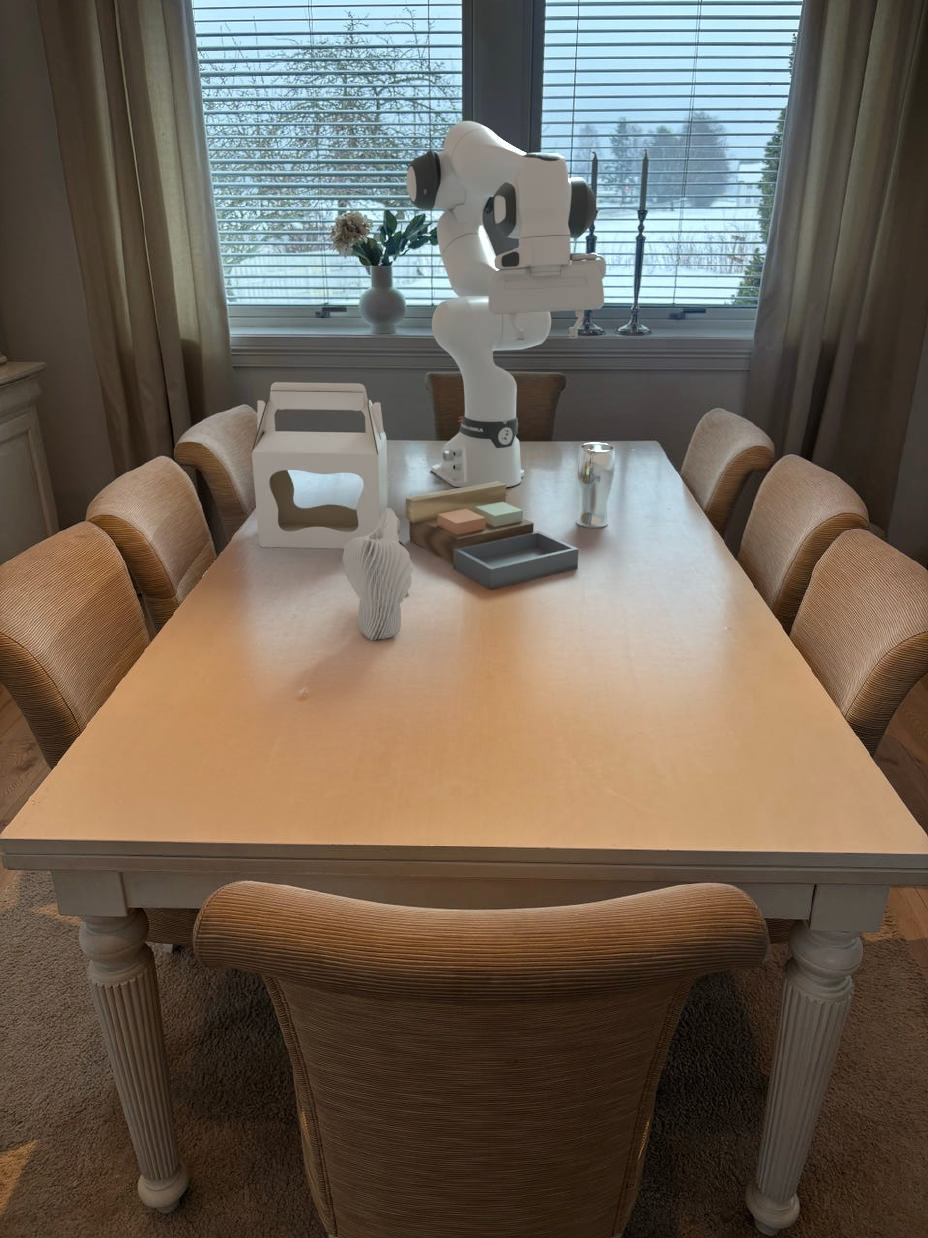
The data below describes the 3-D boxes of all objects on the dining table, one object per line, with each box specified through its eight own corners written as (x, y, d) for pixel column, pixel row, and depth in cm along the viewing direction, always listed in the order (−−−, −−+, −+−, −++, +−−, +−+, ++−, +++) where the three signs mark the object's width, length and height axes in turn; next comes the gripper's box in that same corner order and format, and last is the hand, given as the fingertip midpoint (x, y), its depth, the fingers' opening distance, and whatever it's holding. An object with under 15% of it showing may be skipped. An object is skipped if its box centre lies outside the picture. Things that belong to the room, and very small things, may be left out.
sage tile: (475, 517, 166) (475, 506, 166) (502, 512, 170) (502, 501, 169) (494, 526, 162) (494, 515, 161) (522, 521, 165) (522, 510, 164)
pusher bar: (406, 519, 165) (405, 497, 164) (497, 501, 175) (498, 481, 174) (413, 522, 163) (412, 501, 162) (505, 505, 173) (506, 484, 172)
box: (453, 568, 157) (453, 549, 156) (538, 549, 166) (538, 530, 165) (490, 589, 149) (491, 569, 147) (577, 568, 158) (578, 548, 156)
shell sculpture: (365, 652, 128) (360, 528, 120) (343, 629, 134) (338, 510, 127) (419, 641, 131) (418, 519, 124) (396, 619, 138) (393, 502, 131)
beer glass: (609, 518, 183) (615, 442, 177) (610, 529, 177) (616, 451, 171) (573, 516, 184) (578, 441, 177) (574, 528, 177) (578, 450, 171)
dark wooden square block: (409, 540, 170) (409, 513, 168) (481, 525, 178) (482, 500, 176) (457, 566, 158) (457, 539, 156) (532, 549, 166) (533, 523, 164)
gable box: (258, 547, 166) (244, 388, 154) (273, 524, 178) (262, 375, 166) (382, 550, 165) (377, 390, 154) (389, 526, 177) (386, 376, 166)
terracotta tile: (437, 525, 162) (437, 514, 162) (466, 519, 165) (466, 508, 165) (456, 534, 158) (456, 523, 157) (485, 528, 161) (485, 517, 160)
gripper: (604, 252, 162) (604, 335, 167) (487, 259, 164) (491, 340, 169) (607, 251, 156) (607, 337, 161) (485, 258, 158) (489, 342, 163)
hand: (546, 339), depth 165 cm, fingers open, 8 cm apart
